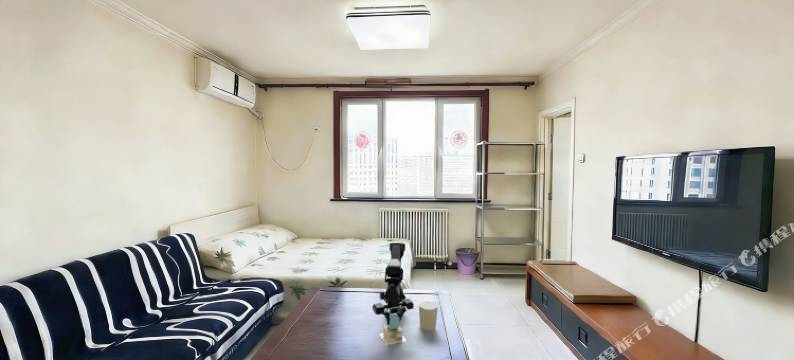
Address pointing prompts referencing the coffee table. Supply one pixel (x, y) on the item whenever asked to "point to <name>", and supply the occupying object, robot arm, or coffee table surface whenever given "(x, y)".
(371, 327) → the coffee table surface
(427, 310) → the coffee cup
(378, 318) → the coffee table surface
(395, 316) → the teal block
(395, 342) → the baseplate
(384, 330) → the maple brick
